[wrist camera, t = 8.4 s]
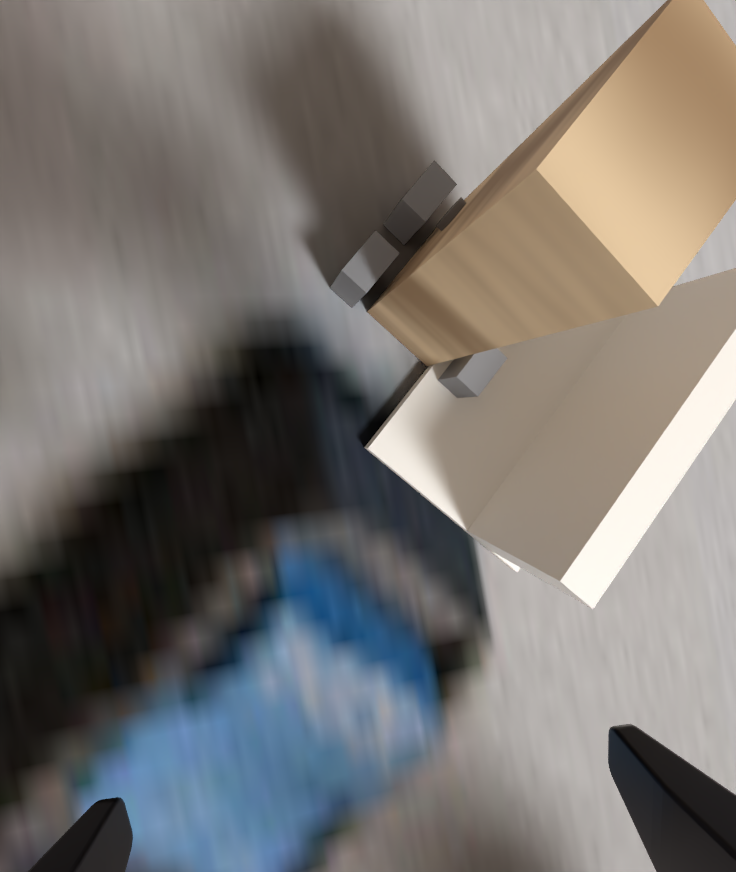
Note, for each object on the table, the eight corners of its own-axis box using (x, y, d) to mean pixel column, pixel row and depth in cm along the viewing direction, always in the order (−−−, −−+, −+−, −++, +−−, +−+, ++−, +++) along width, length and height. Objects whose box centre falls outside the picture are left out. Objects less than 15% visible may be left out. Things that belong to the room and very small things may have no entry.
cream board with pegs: (510, 568, 22) (625, 637, 15) (264, 365, 19) (273, 339, 12) (670, 344, 24) (838, 317, 17) (469, 121, 20) (579, -22, 14)
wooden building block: (426, 366, 21) (657, 306, 9) (362, 307, 20) (526, 158, 8) (492, 282, 21) (790, 123, 10) (433, 221, 20) (681, -32, 9)
